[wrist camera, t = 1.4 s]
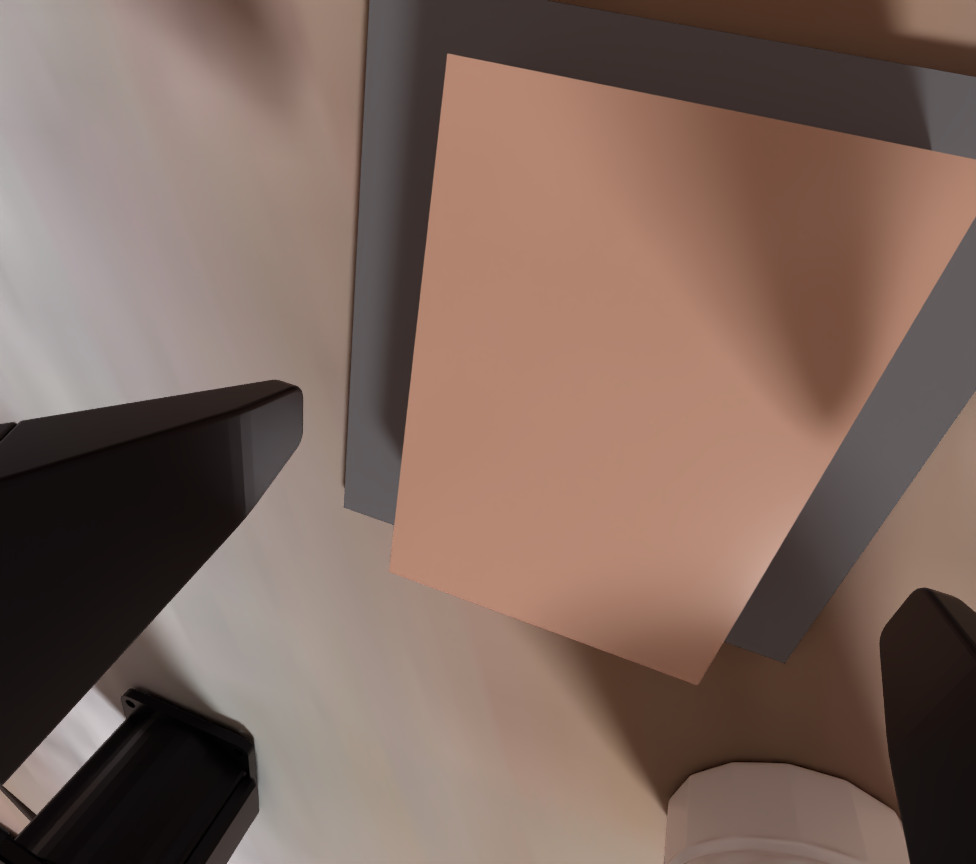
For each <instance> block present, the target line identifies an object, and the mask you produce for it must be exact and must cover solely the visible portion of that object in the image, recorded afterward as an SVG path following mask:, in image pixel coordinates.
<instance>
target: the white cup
mask: <svg viewBox="0 0 976 864" xmlns="http://www.w3.org/2000/svg"><path fill="white" fill-rule="evenodd" d="M664 864H910V862H909V857H908V852H907V846H906V841H905V836H904V831H903V826H902V822H901V820H900V819H899V817H898V816H897V814H896V813H895V811H894V810H892V809H891V808H889V807H888V806H886V805H885V804H883V803H881V802H880V801H878V800H877V799H875V798H873V797H872V796H870V795H869V794H867V793H866V792H864V791H862V790H861V789H859V788H858V787H856V786H854V785H853V784H851V783H850V782H848V781H846V780H843V779H839V778H836V777H833V776H830V775H826V774H823V773H820V772H817V771H813V770H809V769H805V768H802V767H798V766H795V765H791V764H785V763H758V762H732V763H728V764H725V765H721V766H718V767H714V768H711V769H708V770H705V771H702V772H699V773H695V774H693V775H690V776H689V777H688V778H687V780H686V781H685V782H684V783H683V784H682V785H681V786H680V788H679V789H678V790H677V791H676V792H675V793H674V794H673V796H672V797H671V798H670V799H669V803H668V813H667V826H666V839H665V852H664Z"/></svg>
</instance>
